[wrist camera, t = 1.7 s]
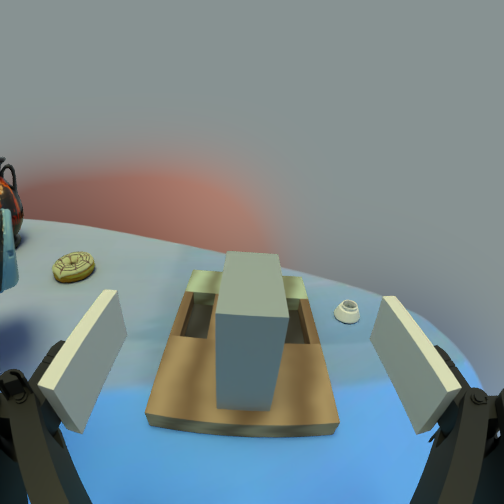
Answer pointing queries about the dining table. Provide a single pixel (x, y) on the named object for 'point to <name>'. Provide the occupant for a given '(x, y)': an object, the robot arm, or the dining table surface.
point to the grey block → (249, 331)
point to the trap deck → (204, 373)
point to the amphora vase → (11, 201)
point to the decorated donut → (73, 267)
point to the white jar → (347, 312)
